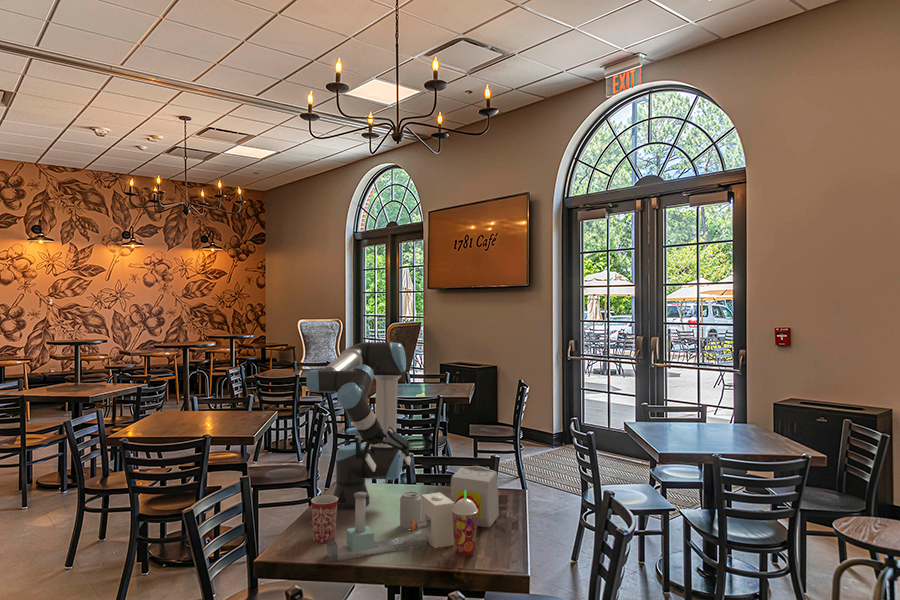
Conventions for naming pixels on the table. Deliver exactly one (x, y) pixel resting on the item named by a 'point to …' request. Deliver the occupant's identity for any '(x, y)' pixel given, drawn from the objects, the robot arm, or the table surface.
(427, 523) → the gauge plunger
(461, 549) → the smoothie
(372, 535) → the carriage
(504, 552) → the table surface
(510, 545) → the table surface
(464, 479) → the electrical switch box
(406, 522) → the can
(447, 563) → the table surface
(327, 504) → the mug
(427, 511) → the white notched housing
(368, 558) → the table surface
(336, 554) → the rail
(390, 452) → the robot arm
